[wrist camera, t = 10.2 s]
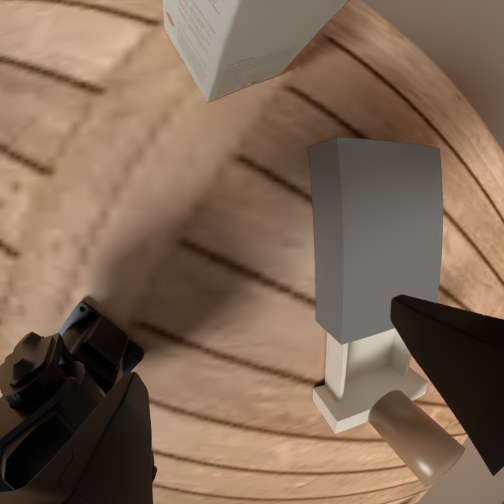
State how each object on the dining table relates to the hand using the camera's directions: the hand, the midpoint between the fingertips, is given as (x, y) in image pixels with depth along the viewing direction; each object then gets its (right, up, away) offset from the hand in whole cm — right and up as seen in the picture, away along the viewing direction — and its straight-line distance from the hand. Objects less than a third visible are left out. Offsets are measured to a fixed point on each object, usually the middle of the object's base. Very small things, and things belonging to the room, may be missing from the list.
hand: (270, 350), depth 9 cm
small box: (-3, +19, +9) cm, 21 cm away
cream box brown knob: (+10, -4, +16) cm, 19 cm away
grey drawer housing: (+9, +5, +14) cm, 18 cm away
